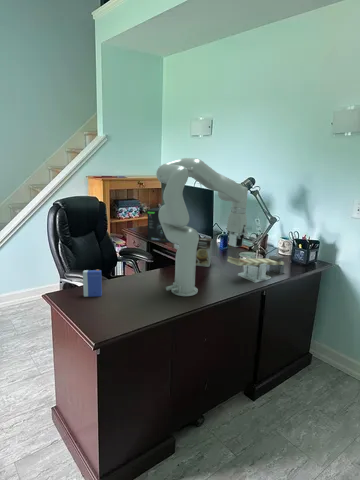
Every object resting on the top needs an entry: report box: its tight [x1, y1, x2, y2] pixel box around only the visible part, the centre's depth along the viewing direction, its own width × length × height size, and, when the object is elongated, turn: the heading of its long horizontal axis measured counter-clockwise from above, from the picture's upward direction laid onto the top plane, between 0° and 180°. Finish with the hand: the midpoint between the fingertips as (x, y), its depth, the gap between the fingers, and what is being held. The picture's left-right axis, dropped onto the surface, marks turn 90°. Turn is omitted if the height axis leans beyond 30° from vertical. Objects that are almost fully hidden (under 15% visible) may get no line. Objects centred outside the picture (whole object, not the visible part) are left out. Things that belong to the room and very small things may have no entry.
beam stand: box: [237, 257, 285, 284], centre depth 187 cm, size 26×13×9 cm, turn 124°
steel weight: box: [228, 233, 244, 248], centre depth 177 cm, size 5×5×6 cm
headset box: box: [147, 206, 173, 244], centre depth 257 cm, size 22×12×26 cm, turn 73°
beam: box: [227, 255, 285, 267], centre depth 183 cm, size 36×8×4 cm, turn 124°
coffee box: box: [196, 237, 213, 268], centre depth 201 cm, size 9×6×16 cm
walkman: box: [82, 269, 103, 298], centre depth 153 cm, size 8×3×12 cm, turn 96°
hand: (235, 244), depth 178 cm, fingers closed on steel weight, 5 cm apart
